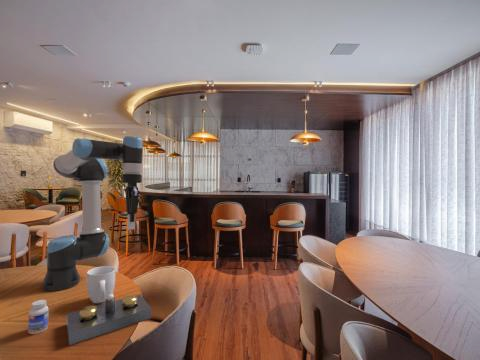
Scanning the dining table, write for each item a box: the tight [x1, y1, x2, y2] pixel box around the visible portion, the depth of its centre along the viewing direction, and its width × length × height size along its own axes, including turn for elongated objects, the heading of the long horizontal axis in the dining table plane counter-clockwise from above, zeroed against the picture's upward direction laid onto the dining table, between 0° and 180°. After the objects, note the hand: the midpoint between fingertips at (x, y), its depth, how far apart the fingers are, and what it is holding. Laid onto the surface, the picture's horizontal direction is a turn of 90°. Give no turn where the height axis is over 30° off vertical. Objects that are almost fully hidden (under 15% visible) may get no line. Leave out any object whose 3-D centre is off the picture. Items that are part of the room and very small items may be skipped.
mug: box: [86, 265, 116, 304], centre depth 107 cm, size 15×11×13 cm
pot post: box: [104, 293, 116, 313], centre depth 92 cm, size 3×3×6 cm
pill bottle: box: [27, 299, 49, 335], centre depth 86 cm, size 5×5×10 cm
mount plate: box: [66, 294, 152, 347], centre depth 92 cm, size 14×26×4 cm, turn 128°
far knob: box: [122, 294, 137, 309], centre depth 97 cm, size 5×5×6 cm
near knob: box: [79, 305, 97, 322], centre depth 88 cm, size 5×5×6 cm
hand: (131, 229), depth 104 cm, fingers closed
